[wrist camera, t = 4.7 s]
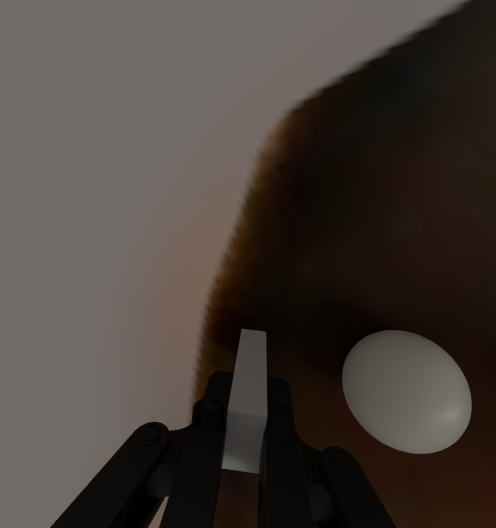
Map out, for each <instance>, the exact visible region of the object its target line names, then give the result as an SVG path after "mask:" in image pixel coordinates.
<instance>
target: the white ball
mask: <svg viewBox="0 0 496 528" xmlns="http://www.w3.org/2000/svg"><path fill="white" fill-rule="evenodd" d="M342 385H343V392H344V395H345V398H346V401H347V404H348V406H349V408H350V410H351V412H352V414H353V415H354V416H355V418H356V419H357V421H358V422H359V423H360V424H361V426H362V427H363V428H364V429H365V430H366V431H367V432H368V433H370V434H371V435H372V436H373V437H375V438H376V439H377V440H379V441H380V442H382V443H384V444H386V445H388V446H390V447H392V448H394V449H397V450H400V451H404V452H408V453H416V454H427V453H433V452H437V451H441V450H443V449H445V448H447V447H449V446H451V445H452V444H454V443H455V442H456V441H457V440H458V439H459V438H460V437H461V436H462V434H463V433H464V431H465V430H466V428H467V426H468V424H469V420H470V416H471V410H472V403H471V394H470V390H469V386H468V383H467V381H466V378H465V376H464V374H463V373H462V371H461V369H460V368H459V366H458V365H457V364H456V362H455V361H454V360H453V359H452V357H451V356H450V355H449V354H448V353H447V352H445V351H444V350H443V349H442V348H441V347H439V346H438V345H437V344H435V343H433V342H432V341H430V340H428V339H426V338H424V337H422V336H420V335H417V334H414V333H411V332H406V331H399V330H385V331H380V332H376V333H373V334H371V335H368V336H366V337H365V338H363V339H362V340H360V341H359V342H358V343H357V344H356V345H355V346H354V347H353V348H352V349H351V350H350V352H349V353H348V355H347V358H346V360H345V363H344V366H343V372H342Z"/></svg>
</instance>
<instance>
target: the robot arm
mask: <svg viewBox="0 0 496 528" xmlns="http://www.w3.org/2000/svg"><path fill="white" fill-rule="evenodd" d="M222 468H224V469H231V470H238V471H245V472H252V473H258V474H259V482H258V488H257V495H256V501H255V504H257V528H396V526H395V524H394V523H393V521H392V519H391V518H390V516H389V514H388V513H387V511H386V509H385V507H384V506H383V504H382V502H381V501H380V499H379V497H378V496H377V494H376V492H375V491H374V489H373V487H372V485H371V484H370V482H369V480H368V479H367V477H366V475H365V474H364V472H363V470H362V469H361V467H360V465H359V463H358V462H357V460H356V459H355V458H354V457H353V455H351V454H350V453H349V452H348V451H346V450H345V449H342V448H340V447H335V446H330V447H327V448H325V449H324V451H323V452H321V451H318V450H316V449H314V448H312V447H310V446H308V445H306V444H305V443H304V442H303V441H302V440H301V439H300V438H299V435H298V434H297V432H296V430H295V424H294V417H293V410H292V403H291V396H290V388H289V386H288V384H287V383H286V381H285V380H284V379H278V378H271V377H267V367H266V332H263V331H256V330H248V329H242V330H241V336H240V342H239V348H238V353H237V359H236V365H235V371H234V373H229V372H221V371H215V372H214V373H213V374H212V375H211V376H210V377H209V380H208V383H207V386H206V390H205V393H204V396H203V398H202V399H200V400H199V401H197V402H196V403H195V405H194V406H193V414H192V424H190V425H189V426H187V427H185V428H183V429H179V430H172V431H169V430H168V428H167V426H165V425H164V424H162V423H158V422H150V423H146V424H144V425H142V426H140V427H139V428H138V429H137V430H135V431H134V432H133V434H132V435H131V436H130V437H129V438H128V439H127V441H126V442H125V443H124V444H123V445H122V446H121V447H120V448H119V450H118V451H117V452H116V453H115V454H114V455H113V457H112V458H111V459H110V460H109V461H108V462H107V463H106V464H105V466H104V467H103V468H102V469H101V470H100V471H99V473H98V474H97V475H96V476H95V477H94V478H93V479H92V480H91V482H90V483H89V484H88V485H87V486H86V487H85V489H84V490H83V491H82V492H81V493H80V494H79V495H78V496H77V498H76V499H75V500H74V501H73V502H72V503H71V504H70V506H69V507H68V508H67V509H66V510H65V511H64V512H63V514H62V515H61V516H60V517H59V518H58V519H57V520H56V521H55V523H54V524H53V525H52V526H51V527H50V528H148V527H149V525H150V523H151V521H152V520H153V518H154V516H155V514H156V512H157V511H158V509H159V507H160V506H161V504H162V502H163V500H164V498H165V497H167V496H169V498H168V501H167V505H166V508H165V511H164V514H163V517H162V520H161V523H160V527H159V528H213V525H214V518H215V512H216V505H217V499H218V492H219V486H220V477H221V470H222Z"/></svg>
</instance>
